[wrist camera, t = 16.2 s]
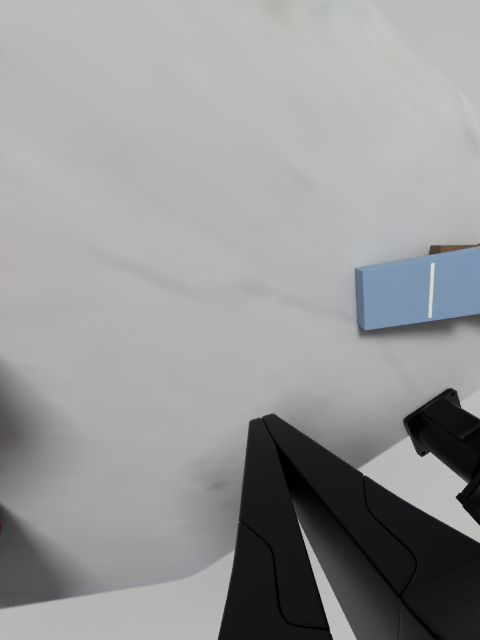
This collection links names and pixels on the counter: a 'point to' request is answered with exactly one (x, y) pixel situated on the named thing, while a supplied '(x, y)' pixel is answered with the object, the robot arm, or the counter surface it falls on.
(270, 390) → the counter surface
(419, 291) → the blue domino
